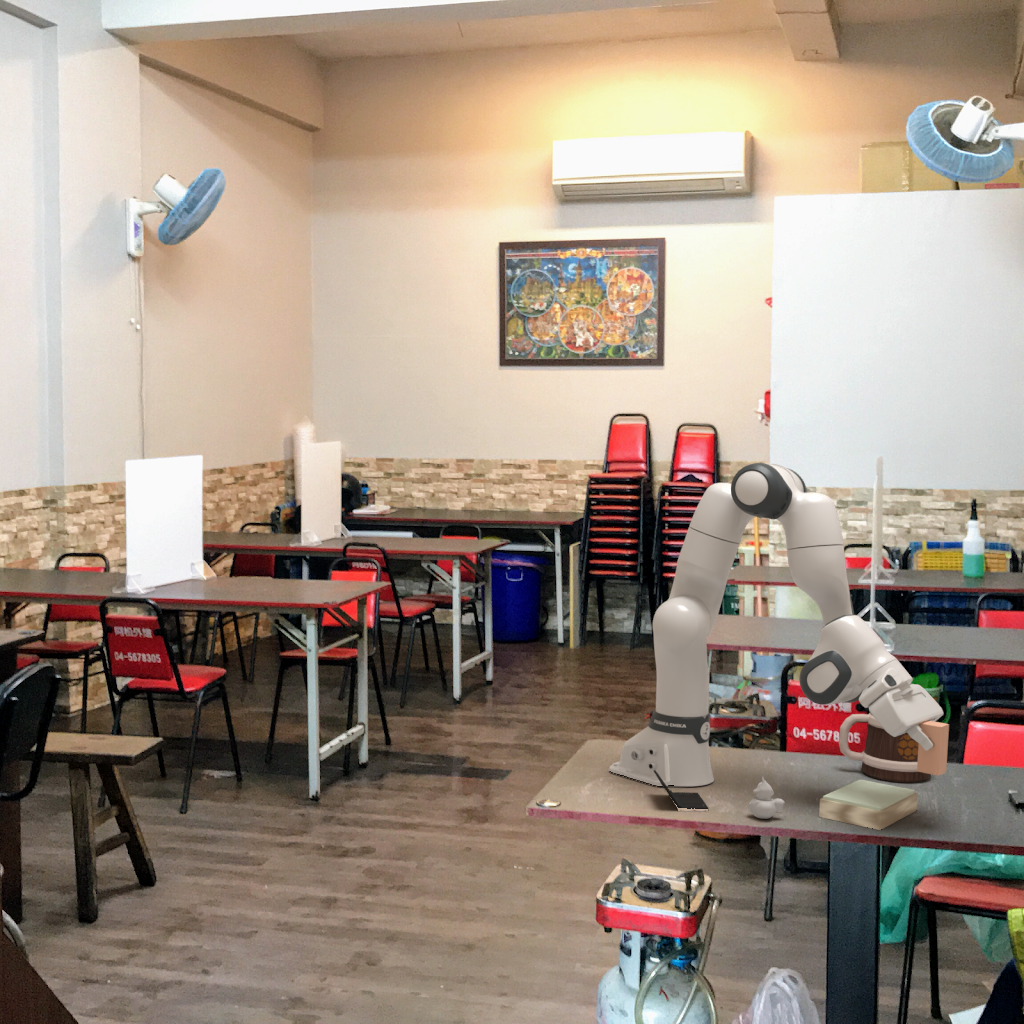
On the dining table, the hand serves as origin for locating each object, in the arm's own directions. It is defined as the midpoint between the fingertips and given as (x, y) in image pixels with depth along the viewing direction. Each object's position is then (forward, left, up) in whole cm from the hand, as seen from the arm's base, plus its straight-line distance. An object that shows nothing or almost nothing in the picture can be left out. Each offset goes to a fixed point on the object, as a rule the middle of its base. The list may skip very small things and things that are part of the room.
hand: (936, 746), depth 222 cm
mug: (-23, +32, -16) cm, 42 cm away
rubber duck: (-26, -17, -16) cm, 34 cm away
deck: (-13, 0, -15) cm, 20 cm away
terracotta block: (-1, 0, -5) cm, 5 cm away
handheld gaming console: (-43, -20, -16) cm, 50 cm away
